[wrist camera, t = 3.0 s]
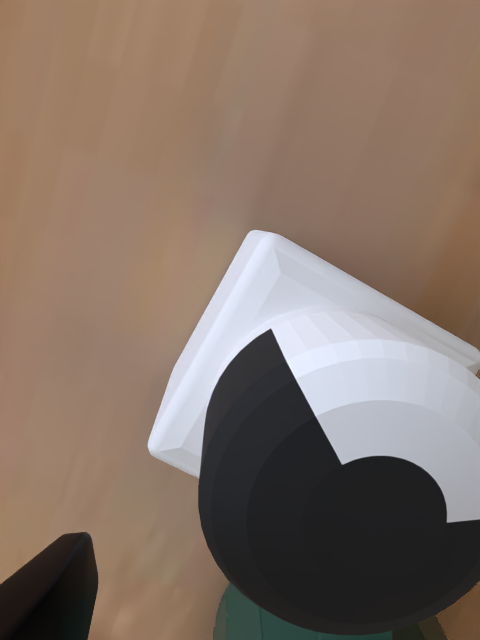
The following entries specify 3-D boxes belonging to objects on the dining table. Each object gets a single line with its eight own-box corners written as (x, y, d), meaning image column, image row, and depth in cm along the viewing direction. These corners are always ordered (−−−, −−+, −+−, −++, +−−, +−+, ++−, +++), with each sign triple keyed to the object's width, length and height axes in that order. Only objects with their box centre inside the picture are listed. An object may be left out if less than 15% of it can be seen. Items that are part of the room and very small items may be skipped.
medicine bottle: (310, 444, 20) (428, 743, 9) (170, 372, 19) (88, 600, 8) (395, 309, 19) (668, 443, 7) (251, 226, 18) (302, 229, 6)
